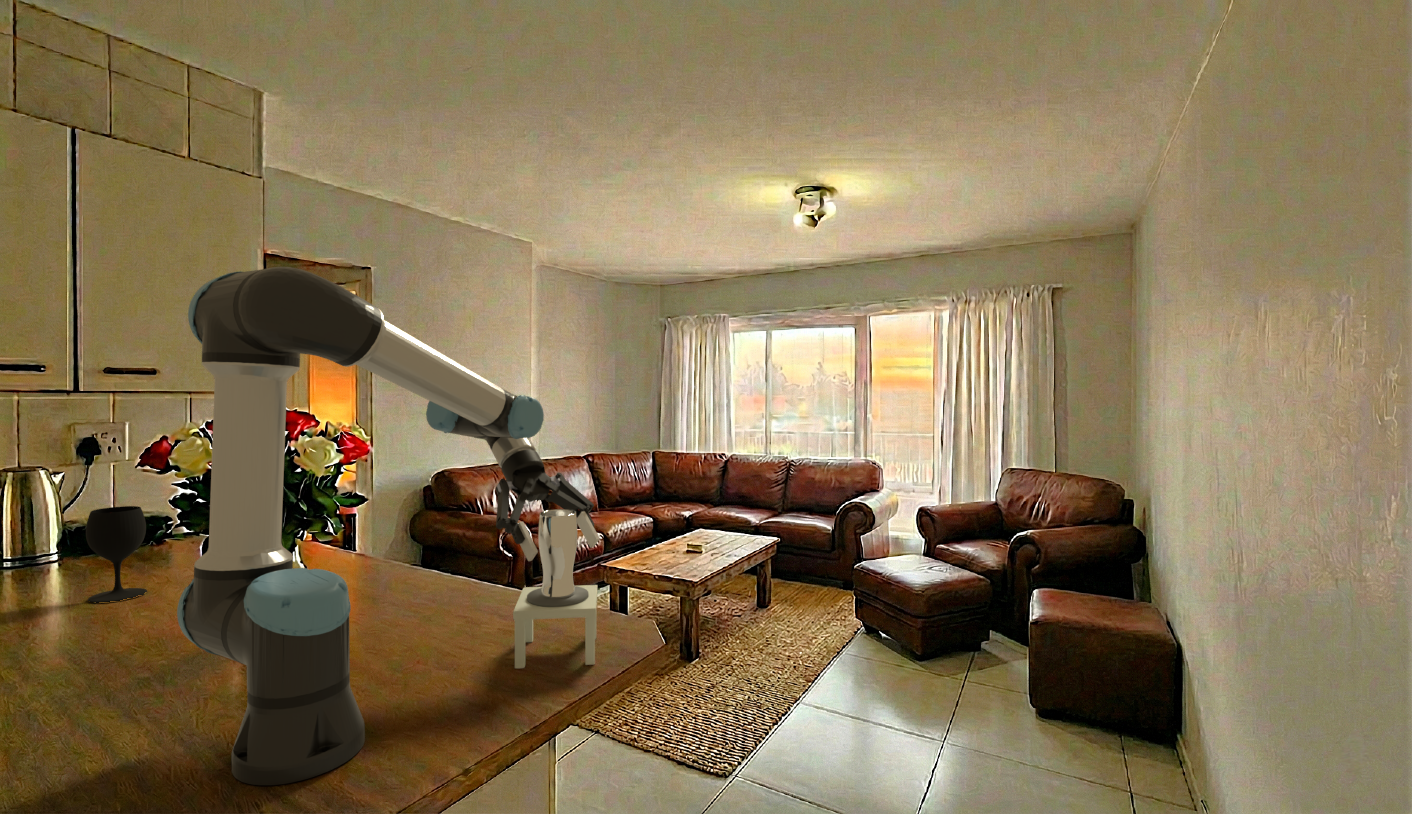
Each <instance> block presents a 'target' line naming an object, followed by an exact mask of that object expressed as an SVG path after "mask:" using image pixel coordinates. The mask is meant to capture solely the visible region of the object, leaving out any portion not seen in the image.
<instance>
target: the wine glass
mask: <svg viewBox="0 0 1412 814" xmlns="http://www.w3.org/2000/svg"><path fill="white" fill-rule="evenodd" d="M146 531H147V523H146V518H145V514H144V512H143V509H142V508H141V506H137V505H134V506H133V505H128V506H127V505H126V506H124V505H123V506H122V505H121V506H113V507H112V506H111V507H104V508H98V509H93V510H91V511H90V512H89V514H88V517H87V520H86V525H85V537H86V543H87V545H88V546H89V548H90V549H91V550H92V552H94V553H95V554H96V555H98V556H99V557H102V558H103V559H104V560H108V561H110V562H111V563H112V565H113V569H114V587H113V589H112V590H107V591H104V592H99V593H97V594H94V595H91V596H90V597H88V599H87V602H88V601H90V602H96V603H99V602H110V601H120V600H123V599H127V598H133V597H136V596H138V595H143V594H144V593H145V592H147V593H148V590H147V589H145V588H141V587H127V588H123V585H122V581H121V579H122V578H121V571H122V570H121V568H122V562H123V561H124V560H125V559H126V558H128V557H129V556H131V555H132V554H133V553H134V552H136V550H138V548H139V547H141V545H142V543H143V542H144V539H145V537H146V533H147V532H146ZM143 596H144V595H143ZM90 602H89V603H90ZM120 602H121V601H120ZM96 603H95V604H96Z"/></svg>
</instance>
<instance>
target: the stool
mask: <svg viewBox="0 0 1412 814" xmlns="http://www.w3.org/2000/svg"><path fill="white" fill-rule="evenodd" d="M574 588H575V593H574V595H572V596H570V597H567V598H561V599H549V598H545V597H543V596H542V595H541V590H542V586H535V587H534V586H529V587H528V586H527V587H523V588H522V590H521V592H520V595H519V597H518V600H517V602H516V605H515V607H514V609H513V611H512V615H513V616H512V617H513V618H512V619H513V621H514V669H525V667H526V643H533V641H534V620H552V619H555V620H556V619H574V618H575V619H576V618H577V619H578V618H585V619H584V621H585V625H584V626H585V628H584V629H585V632H584V633H585V636H584V637H585V642H584V643H585V647H584V648H585V652H584V653H585V654H584V655H585V657H584V661H585V662H584V663H585V665H586V666H588V665H589V666H591V665H595V664H596V663H595V662H596V640H597V603H598V584H590V585H589V584H588V585H586V584H585V585H574Z"/></svg>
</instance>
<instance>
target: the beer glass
mask: <svg viewBox="0 0 1412 814" xmlns="http://www.w3.org/2000/svg"><path fill="white" fill-rule="evenodd" d="M537 534H538V535H537V536H538V537H537V538H538V548H539V549H538V551H539V555H540V561H541V564H542V565H541V567H542V575H543V577H542V585H541V587H542V590H541V595H542V596H543V597H545V598H549V599H561V598H567V597H570V596H572V595H574V593H575V588H574V586H575V584H574V576H573V575H574V574H573V573H574V564H575V559H576V553H577V545H578V524H577V517H576V511H573V510H566V509H563V508H560V509H556V508H555V509H547V510H543V511H540V512H539V520H538V533H537Z"/></svg>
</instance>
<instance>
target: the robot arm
mask: <svg viewBox="0 0 1412 814" xmlns="http://www.w3.org/2000/svg"><path fill="white" fill-rule="evenodd" d="M187 310H188V312H187V320H188V325H189V327H190V330H191V332H192V334H193V337H195V338H196V339H197V340H198V342H199V343H200V344H201V366H203V367H204V369H206V371H208V372H209V373H210V375H212V376H213V378H214V389H213V390H214V391H213V393H214V394H213V417H212V418H213V419H212V420H213V421H212V422H213V423H212V442H211V443H212V449H211V474H210V475H211V476H210V478H211V479H210V499H209V500H210V503H209V525H208V528H209V529H208V530H209V532H208V533H209V534H208V548H207V551H206V552H205V553H203V555H201V556H200V557H199V558H198V559H197V560H195V562H194V564H193V565H194V566H193V578H192V580H191V582H190V583H189V584H188V586H186V587H185V588H184V589H183V590H182V593H181V595H180V597H179V600H178V603H177V609H176V610H177V611H176V616H177V622H178V626H179V627H180V630H181V632H182V634H183V635H184V637H186V639H188V641H190V642H191V643H193V644H194V645H195V646H196V647H198V648H199V649H202V650H204V651H205V652H206V653H209V654H212V655H214V656H221V657H224V658H227V659H229V660H231V661H234V662H237V663H240V664H241V665H242V664H243V665H244V666H246V693H247V694H246V695H247V696H246V697H247V700H246V702H247V704H246V706H247V707H246V709H245V711H244V715H243V718H242V720H241V723H240V725H239V726H240V727H239V729H238V732H237V735H236V738H235V741H234V744H233V748H232V750H231V755H230V756H231V774H232V775H233V777H234V778H235V779H236V780H237V781H240V782H241V783H244V784H248V785H252V786H253V785H254V786H276V785H277V786H278V785H285V784H290V783H296V782H300V781H305V780H307V779H312V778H314V777H318V776H319V775H323V774H325V773H327V772H329V771H332V770H334V769H337V768H339V767H340V766H341V765H344V764H345V763H347V762H348V761H350V760H351V759H352V758H353V757H354V756H356V755H357V754H358V753H359V752H360V751H361V749H362V748H363V747H364V744H365V741H366V738H365V737H366V730H365V728H366V727H365V726H366V725H365V720H364V718H363V715H362V713H361V710H360V708H359V706H358V702H357V701H356V698H355V695H354V693H353V691H352V688H351V681H350V679H351V678H350V675H351V672H350V669H351V668H350V663H351V662H350V655H351V654H350V652H351V651H350V649H351V647H350V614H351V602H350V596H349V587H348V584H347V582H346V580H345V579H344V578H343V577H342V576H340V575H339V574H338V573H335V572H334V571H333V572H332V571H329V570H326V569H322V568H321V569H320V568H312V569H308V568H306V567H298V568H297V567H295V568H293V564H294V563H293V562H294V557H293V553H291V552H290V551H289V550H288V549H287V548H285V547H284V546H283V543H282V533H283V532H282V531H283V530H282V529H283V528H282V527H283V505H284V504H283V501H284V499H283V498H284V471H285V450H286V449H285V448H286V447H285V445H286V444H285V443H286V421H287V420H286V418H287V394H288V393H287V390H288V381H289V379H290V378H291V377H292V376H294V375H295V374H296V373H298V372H299V371H300V368H301V367H300V366H301V364H300V362H301V354H302V355H310V356H315V357H318V358H323V359H326V360H329V361H330V362H333V363H335V364H337V365H340V366H342V367H345V368H346V367H352V366H355V365H356V366H358V367H360V368H362V369H364V370H366V371H368V372H370V373H373V374H374V375H377V376H378V377H380V378H383V379H385V380H386V381H389V382H390V383H393V384H394V385H397V386H398V387H400V388H403V389H405V390H407V391H409V392H411V393H413V394H415V395H417V396H419V397H421V398H423V399H426V400H427V401H428V402H427V405H426V412H425V415H426V422H427V424H428V425H429V426H430V427H431V428H432V429H433V430H436V431H438V432H439V431H440V432H441V433H442V432H443V433H444V434H454V435H458V436H465V437H471V438H475V439H479V440H484V441H486V443H487V444H488V447H489V448H490V450H491V452H492V454H493V456H494V458H495V460H496V462H497V464H498V467H500V470H501V472H502V474H503V477H504V478H501V479H500V480H499V481H498V483H497V484H496V487H495V491H496V494H497V509H496V519H495V528H496V529H497V530H502V529H504V532H505V533H506V534H510V535H511V537H512V538H513V540H514V542H515V544H516V545H520V547H521V550H522V552H523V554H524V557H525V558H526V560H527V561H528V562H531V561H533V560H534V558H535V557H536V555H537V554H538V552H539V549H537V546H536V545H535V542H534V541H533V539H532V537H531V535H530V532H529V530H528V529H527V526H526V525H525V522H524V521H519V520H520V517H521V515H522V511H523V509H524V506H525V503H526V501H528V503H532V502H535V501H546V502H548V503H551V502H552V503H554V504H555V505H557V506H559V507H560V509H566V510H573V511H576V519H577V527H579V530H580V531H581V533H582V535H583V536H584V537H583V538H584V539H585V540H586V542H587V544H588V547H589V548H594V547H595V546H596V545H597V543H598V542H599V541H600V536H599V534H598V533H597V531H596V528H595V523H594V521H593V519H592V517H591V515H590V512H591V511H592V509H593V508H594V507H595V505H594V502H592V501H591V500H590V499H588V498H587V497H586V496H585V495H584V494H583V493H581V491H579V490H578V489H576V487H574V486H573V484H571V483H570V482H569V481H567V479H566V478H565V476H564V474H562V472H556V474H555V475H552V476H550V475H548V474H547V473H546V469H545V464H544V463H543V461H542V458H541V456H540V455H539V453H538V452H537V449H536V448H535V445H534V444H533V442H532V440H531V438H532V437H534V436H536V435H537V434H538V433H539V432H540V431H541V429H542V428H543V427H542V425H543V423H544V418H545V415H544V414H545V413H544V409H543V406H542V404H541V402H540V401H539V400H538V399H537V398H535V397H533V396H530V395H529V396H528V395H525V394H519V395H516V394H514V393H511V392H509V391H507V389H504V388H502V387H500V386H499V385H497V384H495V383H494V382H491V381H490V380H489V379H487V378H485V377H483V376H481V375H479V374H478V373H476V372H475V371H472V369H469V368H468V367H466V366H465V365H462V364H461V363H460V362H458V361H456V360H454V359H452V358H451V357H449V356H447V355H445V354H444V353H442V352H441V351H439V350H437V349H435V348H433V347H432V346H430V345H428V344H426V343H425V342H423V341H421V340H419V339H418V338H416V337H414V336H413V335H411V334H409V333H408V332H406V331H404V330H402V329H401V328H399V327H397V326H395V325H394V324H393V323H390V322H389V321H388V320H385V319H384V317H385V316H384V313H383V311H382V310H381V309H380V308H379V307H377V306H376V305H374V304H372V303H370V302H369V301H367V300H366V299H364V298H362V297H360V296H358V295H357V294H355V293H353V292H352V291H350V290H348V289H346V288H344V287H343V286H341V285H339V284H337V283H335V282H333V281H331V280H329V279H327V278H325V277H323V276H320V275H318V274H316V273H313V272H310V271H308V270H304V269H301V268H296V267H291V266H273V267H269V268H264V269H256V270H248V271H246V270H245V271H234V272H233V271H232V272H229V273H225V274H223V275H220V276H218V277H215V278H213V279H211V280H209V281H207V282H206V283H204V284H202V285H201V286H200V287H199V288H198V290H197V291H196V292H194V295H193V296H192V298H191V300H190V303H189V307H188V309H187ZM510 491H512V492H514V493H515V494H516V495H517V498H516V500H515V503H514V507H513V508H512V511H511V514H510V517H509V503H510ZM550 491H551V493H550ZM549 493H550V494H549Z"/></svg>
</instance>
